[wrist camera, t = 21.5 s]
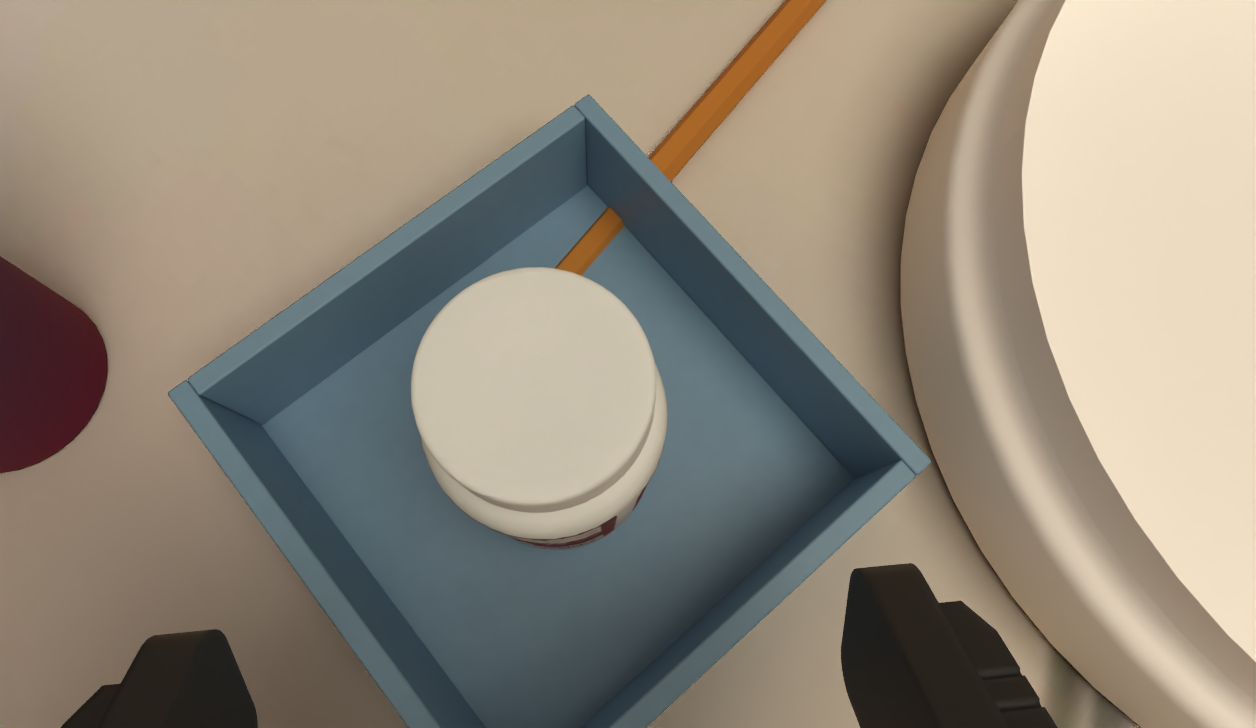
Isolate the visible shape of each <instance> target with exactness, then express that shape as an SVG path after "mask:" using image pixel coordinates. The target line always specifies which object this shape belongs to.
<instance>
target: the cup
mask: <svg viewBox="0 0 1256 728" xmlns="http://www.w3.org/2000/svg"><path fill="white" fill-rule="evenodd" d="M106 375H107V355H106V351H105V347H104V343H103V339H102V337H101V335H100V333H99V332H98V330H97V328H96V326H95V324H94V323H93V322H92V321H91V320H90V318H89V317H88V316H87V315H86V314H85V313H84V312H83V311H82V310H80V309H79V308H77V307H76V306H75V305H73V304H72V303H70V302H69V301H67V300H66V299H64V298H63V297H61V296H60V295H58V294H57V293H55V292H54V291H52V290H51V289H49V288H48V287H46V286H45V285H43V284H42V283H40V282H38V281H37V280H35V279H34V278H32V277H31V276H29V275H28V274H26V273H25V272H23V271H22V270H20V269H19V268H17V267H16V266H14V265H13V264H11V263H10V262H8V261H6V260H5V259H3V258H2V257H0V473H3V472H9V471H14V470H20V469H23V468H25V467H28V466H31V465H34V464H36V463H39V462H41V461H43V460H44V459H46V458H48V457H50V456H51V455H53V454H55V453H57V452H58V451H59V450H61V449H62V448H63V447H64V446H66V445H67V444H68V443H69V442H70V441H72V440H73V439H74V438H75V437H76V436H77V434H78V433H79V432H80V431H81V430H82V429H83V428H84V427H85V425H86V424H87V423H88V421H89V420H90V418H91V416H92V415H93V413H94V412H95V410H96V408H97V406H98V404H99V401H100V399H101V396H102V393H103V391H104V386H105V381H106Z"/></svg>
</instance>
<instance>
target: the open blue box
mask: <svg viewBox="0 0 1256 728" xmlns="http://www.w3.org/2000/svg"><path fill="white" fill-rule="evenodd" d="M607 207H611V208H612V210H613V211H614V212H615V213H616V214H617V215H618V216H619V217H620V218H621V219H622V222H623V224H624V225H625V226H624V227H623V228H622V229H621V231H620V232H619V233H618V234H617V235H616V236H615V238H614V239H613V240H612V241H611V242H610V243H609V244H608V246H607V247H606V248H605V249H604V250H603V251H602V253H601V254H600V255H599V256H598V257H597V258H596V259H595V261H594V262H593V263H592V264H591V265H590V266H589V268H588V269H587V270H586V271H585V272H584V273H583V274H582V276H584V277H586V278H588V279H590V280H592V281H594V282H596V283H598V284H599V285H601V286H603V287H604V288H606V289H607V290H608V291H610V292H611V293H613V294H614V295H615V296H616V297H617V298H618V299H619V300H620V301H621V302H623V303H624V304H625V306H626V307H627V308H628V309H629V310H630V311H631V313H632V314H633V315H634V317H635V318H636V319H637V321H638V322H639V324H640V326H641V327H642V329H643V331H644V333H645V335H646V337H647V340H648V342H649V345H650V348H651V351H652V354H653V357H654V360H655V364H656V366H657V368H658V371H659V374H660V376H661V379H662V382H663V386H664V390H665V394H666V400H667V431H666V436H665V441H664V448H663V451H662V454H661V457H660V460H659V463H658V466H657V468H656V470H655V472H654V474H653V476H652V477H651V479H650V481H649V482H648V485H647V488H646V490H645V492H644V494H643V495H642V497H641V499H640V500H639V502H638V504H637V506H636V507H635V509H634V510H633V511H632V513H631V514H630V516H629V517H628V518H627V519H626V520H625V521H624V522H623V523H622V524H621V525H620V526H619V527H618V528H617V529H615V530H614V531H613V532H612V533H610V534H609V535H607V536H606V537H604V538H602V539H600V540H598V541H596V542H593V543H590V544H588V545H585V546H581V547H578V548H573V549H563V550H552V549H543V548H537V547H533V546H529V545H527V544H524V543H522V542H519V541H517V540H515V539H513V538H511V537H509V536H507V535H505V534H503V533H499V532H497V531H494V530H492V529H490V528H488V527H487V526H485V525H483V524H480V523H478V522H477V521H475V520H474V519H472V518H471V517H469V516H468V515H467V514H465V513H464V512H463V511H462V510H461V509H460V508H459V507H458V506H457V505H455V504H454V503H453V502H452V500H451V499H450V498H449V497H448V495H447V494H446V493H445V492H444V491H443V489H442V488H441V486H440V485H439V483H438V482H437V480H436V478H435V476H434V474H433V472H432V470H431V467H430V465H429V463H428V460H427V457H426V455H425V452H424V450H423V447H422V440H421V436H420V433H419V430H418V428H417V425H416V421H415V417H414V413H413V409H412V403H411V377H412V369H413V364H414V359H415V356H416V353H417V350H418V348H419V345H420V343H421V340H422V338H423V336H424V334H425V332H426V331H427V329H428V327H429V325H430V324H431V323H432V321H433V320H434V318H435V317H436V315H437V314H438V313H439V312H440V311H441V310H442V309H443V307H444V306H445V305H446V304H447V303H448V302H449V301H450V300H452V299H453V298H454V297H455V296H456V295H458V294H459V293H460V292H461V291H463V290H464V289H466V288H467V287H469V286H471V285H472V284H474V283H476V282H478V281H480V280H482V279H484V278H486V277H489V276H491V275H494V274H497V273H500V272H503V271H508V270H513V269H517V268H526V267H547V268H555V267H556V266H557V265H558V263H559V262H560V261H561V260H562V259H563V258H564V256H565V255H566V254H567V253H568V252H569V251H570V250H571V248H572V247H573V246H574V245H575V244H576V243H577V242H578V240H579V239H580V238H581V237H582V236H583V235H584V234H585V232H586V231H587V230H588V229H589V228H590V227H591V226H592V224H593V223H594V222H595V221H596V220H597V219H598V218H599V216H600V215H601V214H602V213H603V212H604V211H605V209H606V208H607ZM168 395H169V397H170V398H171V399H172V401H173V402H174V404H175V405H176V406H177V408H178V409H179V410H180V412H181V413H182V415H183V416H184V417H185V419H186V420H187V422H188V423H189V424H190V426H191V427H192V428H193V430H194V431H195V433H196V434H197V435H198V437H199V438H200V440H201V441H202V442H203V444H204V445H205V447H206V448H207V449H208V451H209V452H210V453H211V455H212V456H213V458H214V459H215V460H216V462H217V463H218V465H219V466H220V467H221V469H222V470H223V471H224V473H225V474H226V476H227V477H228V478H229V480H230V481H231V483H232V484H233V485H234V487H235V488H236V489H237V491H238V492H239V494H240V495H241V496H242V498H243V499H244V501H245V502H246V503H247V505H248V506H249V507H250V509H251V510H252V512H253V513H254V514H255V516H256V517H257V519H258V520H259V521H260V523H261V524H262V525H263V527H264V528H265V530H266V531H267V532H268V534H269V535H270V537H271V538H272V539H273V541H274V542H275V543H276V545H277V546H278V548H279V549H280V550H281V552H282V553H283V555H284V556H285V557H286V559H287V560H288V561H289V563H290V564H291V566H292V567H293V568H294V570H295V571H296V573H297V574H298V575H299V577H300V578H301V580H302V581H303V582H304V584H305V585H306V586H307V588H308V589H309V591H310V592H311V593H312V595H313V596H314V598H315V599H316V600H317V602H318V603H319V604H320V606H321V607H322V609H323V610H324V611H325V613H326V614H327V616H328V617H329V618H330V620H331V621H332V622H333V624H334V625H335V627H336V628H337V629H338V631H339V632H340V634H341V635H342V636H343V638H344V639H345V640H346V642H347V643H348V645H349V646H350V647H351V649H352V650H353V652H354V653H355V654H356V656H357V657H358V658H359V660H360V661H361V663H362V664H363V665H364V667H365V668H366V670H367V671H368V672H369V674H370V675H371V676H372V678H373V679H374V681H375V682H376V683H377V685H378V686H379V688H380V689H381V690H382V692H383V693H384V694H385V696H386V697H387V699H388V700H389V701H390V703H391V704H392V706H393V707H394V708H395V710H396V711H397V713H398V714H399V715H400V717H401V718H402V719H403V721H404V722H405V724H406V725H407V726H408V728H646V727H647V726H648V725H649V724H650V723H651V722H652V721H654V720H655V719H656V718H657V717H658V716H659V715H660V714H661V713H662V712H663V711H664V710H665V709H666V708H668V707H669V706H670V705H671V704H672V703H673V702H674V701H675V700H676V699H677V698H678V697H679V696H680V695H682V694H683V693H684V692H685V691H686V690H687V689H688V688H689V687H690V686H691V685H692V684H693V683H694V682H696V681H697V680H698V679H699V678H700V677H701V676H702V675H703V674H704V673H705V672H706V671H707V670H708V669H710V668H711V667H712V666H713V665H714V664H715V663H716V662H717V661H718V660H719V659H720V658H721V657H722V656H724V655H725V654H726V653H727V652H728V651H729V650H730V649H731V648H732V647H733V646H734V645H735V644H736V643H738V642H739V641H740V640H741V639H742V638H743V637H744V636H745V635H746V634H747V633H748V632H749V631H750V630H752V629H753V628H754V627H755V626H756V625H757V624H758V623H759V622H760V621H761V620H762V619H763V618H764V617H766V616H767V615H768V614H769V613H770V612H771V611H772V610H773V609H774V608H775V607H776V606H777V605H778V604H780V603H781V602H782V601H783V600H784V599H785V598H786V597H787V596H788V595H789V594H790V593H791V592H792V591H794V590H795V589H796V588H797V587H798V586H799V585H800V584H801V583H802V582H803V581H804V580H805V579H806V578H808V577H809V576H810V575H811V574H812V573H813V572H814V571H815V570H816V569H817V568H818V567H819V566H820V565H822V564H823V563H824V562H825V561H826V560H827V559H828V558H829V557H830V556H831V555H832V554H833V553H834V552H836V551H837V550H838V549H839V548H840V547H841V546H842V545H843V544H844V543H845V542H846V541H847V540H848V539H850V538H851V537H852V536H853V535H854V534H855V533H856V532H857V531H858V530H859V529H860V528H861V527H862V526H864V525H865V524H866V523H867V522H868V521H869V520H870V519H871V518H872V517H873V516H874V515H875V514H876V513H877V512H879V511H880V510H881V509H882V508H883V507H884V506H885V505H886V504H887V503H888V502H889V501H890V500H891V499H893V498H894V497H895V496H896V495H897V494H898V493H899V492H900V491H901V490H902V489H903V488H904V487H905V486H907V485H908V484H909V483H910V482H911V481H912V480H913V479H914V478H915V476H916V475H918V474H919V473H921V472H922V471H923V470H924V469H925V468H926V467H927V466H928V465H929V464H930V463H931V460H930V459H929V458H928V456H927V455H926V454H925V453H924V452H923V451H922V450H921V449H920V448H919V447H918V446H917V445H916V444H915V443H914V442H913V440H912V439H911V438H910V437H909V436H908V435H907V434H906V433H905V432H904V431H903V430H902V429H901V428H900V427H899V425H898V424H897V423H896V422H895V421H894V420H893V419H892V418H891V417H890V416H889V415H888V414H887V413H886V412H885V410H884V409H883V408H882V407H881V406H880V405H879V404H878V403H877V402H876V401H875V400H874V399H873V398H872V397H871V395H870V394H869V393H868V392H867V391H866V390H865V389H864V388H863V387H862V386H861V385H860V384H859V383H858V382H857V381H856V379H855V378H854V377H853V376H852V375H851V374H850V373H849V372H848V371H847V370H846V369H845V368H844V367H843V366H842V364H841V363H840V362H839V361H838V360H837V359H836V358H835V357H834V356H833V355H832V354H831V353H830V352H829V351H828V349H827V348H826V347H825V346H824V345H823V344H822V343H821V342H820V341H819V340H818V339H817V338H816V337H815V336H814V335H813V333H812V332H811V331H810V330H809V329H808V328H807V327H806V326H805V325H804V324H803V323H802V322H801V321H800V320H799V318H798V317H797V316H796V315H795V314H794V313H793V312H792V311H791V310H790V309H789V308H788V307H787V306H786V305H785V303H784V302H783V301H782V300H781V299H780V298H779V297H778V296H777V295H776V294H775V293H774V292H773V291H772V290H771V288H770V287H769V286H768V285H767V284H766V283H765V282H764V281H763V280H762V279H761V278H760V277H759V276H758V275H757V274H756V272H755V271H754V270H753V269H752V268H751V267H750V266H749V265H748V264H747V263H746V262H745V261H744V260H743V259H742V257H741V256H740V255H739V254H738V253H737V252H736V251H735V250H734V249H733V248H732V247H731V246H730V245H729V244H728V242H727V241H726V240H725V239H724V238H723V237H722V236H721V235H720V234H719V233H718V232H717V231H716V230H715V229H714V228H713V226H712V225H711V224H710V223H709V222H708V221H707V220H706V219H705V218H704V217H703V216H702V215H701V214H700V213H699V211H698V210H697V209H696V208H695V207H694V206H693V205H692V204H691V203H690V202H689V201H688V200H687V199H686V198H685V196H684V195H683V194H682V193H681V192H680V191H679V190H678V189H677V188H676V187H675V186H674V185H673V184H672V183H671V181H670V180H669V179H668V178H667V177H666V176H665V175H664V174H663V173H662V172H661V171H660V170H659V169H658V168H657V167H656V165H655V164H654V163H653V162H652V161H651V160H650V159H649V158H648V157H647V156H646V155H645V154H644V153H643V152H642V150H641V149H640V148H639V147H638V146H637V145H636V144H635V143H634V142H633V141H632V140H631V139H630V138H629V137H628V135H627V134H626V133H625V132H624V131H623V130H622V129H621V128H620V127H619V126H618V125H617V124H616V123H615V122H614V121H613V119H612V118H611V117H610V116H609V115H608V114H607V113H606V112H605V111H604V110H603V109H602V108H601V107H600V106H599V104H598V103H597V102H596V101H595V100H594V99H593V98H592V97H591V96H590V95H587V96H585V97H584V98H582V99H581V100H580V101H578V102H577V103H575V105H574V106H571V107H570V108H568V109H567V110H565V111H564V112H563V113H561V114H560V115H558V116H557V117H556V118H554V119H553V120H551V121H550V122H549V123H547V124H546V125H544V126H543V127H542V128H540V129H539V130H537V131H536V132H534V133H533V134H532V135H530V136H529V137H527V138H526V139H525V140H523V141H522V142H520V143H519V144H518V145H516V146H515V147H513V148H512V149H511V150H509V151H508V152H506V153H505V154H503V155H502V156H501V157H499V158H498V159H496V160H495V161H494V162H492V163H491V164H489V165H488V166H487V167H485V168H484V169H482V170H481V171H479V172H478V173H477V174H475V175H474V176H472V177H471V178H470V179H468V180H467V181H465V182H464V183H463V184H461V185H460V186H458V187H457V188H456V189H454V190H453V191H451V192H450V193H448V194H447V195H446V196H444V197H443V198H441V199H440V200H439V201H437V202H436V203H434V204H433V205H432V206H430V207H429V208H427V209H426V210H425V211H423V212H422V213H420V214H419V215H417V216H416V217H415V218H413V219H412V220H410V221H409V222H408V223H406V224H405V225H403V226H402V227H401V228H399V229H398V230H396V231H395V232H393V233H392V234H391V235H389V236H388V237H386V238H385V239H384V240H382V241H381V242H379V243H378V244H377V245H375V246H374V247H372V248H371V249H370V250H368V251H367V252H365V253H364V254H362V255H361V256H360V257H358V258H357V259H355V260H354V261H353V262H351V263H350V264H348V265H347V266H346V267H344V268H343V269H341V270H340V271H339V272H337V273H336V274H334V275H333V276H331V277H330V278H329V279H327V280H326V281H324V282H323V283H322V284H320V285H319V286H317V287H316V288H315V289H313V290H312V291H310V292H309V293H307V294H306V295H305V296H303V297H302V298H300V299H299V300H298V301H296V302H295V303H293V304H292V305H291V306H289V307H288V308H286V309H285V310H284V311H282V312H281V313H279V314H278V315H276V316H275V317H274V318H272V319H271V320H269V321H268V322H267V323H265V324H264V325H262V326H261V327H260V328H258V329H257V330H255V331H254V332H253V333H251V334H250V335H248V336H247V337H245V338H244V339H243V340H241V341H240V342H238V343H237V344H236V345H234V346H233V347H231V348H230V349H229V350H227V351H226V352H224V353H223V354H221V355H220V356H219V357H217V358H216V359H214V360H213V361H212V362H210V363H209V364H207V365H206V366H205V367H203V368H202V369H200V370H199V371H198V372H196V373H195V374H193V375H192V376H190V377H189V378H188V381H187V380H186V381H183V382H182V383H181V384H179V385H178V386H176V387H175V388H174V389H172V390H171V391H169V392H168Z"/></svg>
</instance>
